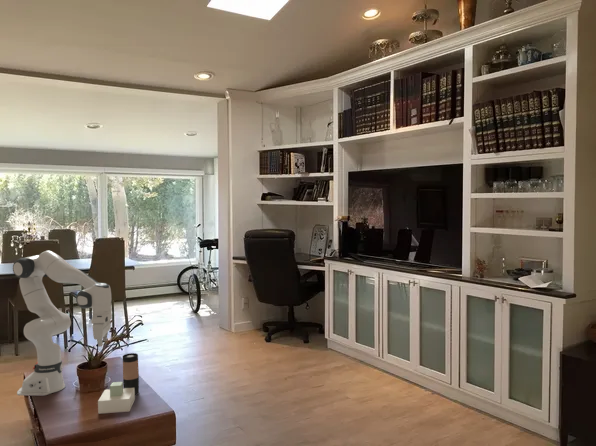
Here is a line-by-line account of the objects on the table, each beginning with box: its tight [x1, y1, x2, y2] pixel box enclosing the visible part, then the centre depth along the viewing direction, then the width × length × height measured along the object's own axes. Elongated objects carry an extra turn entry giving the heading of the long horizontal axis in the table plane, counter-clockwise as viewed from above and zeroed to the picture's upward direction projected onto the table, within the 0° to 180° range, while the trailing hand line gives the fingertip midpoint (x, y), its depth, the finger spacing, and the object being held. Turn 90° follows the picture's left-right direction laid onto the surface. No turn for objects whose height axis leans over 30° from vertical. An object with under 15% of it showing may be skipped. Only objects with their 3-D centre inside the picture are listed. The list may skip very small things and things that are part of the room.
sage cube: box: [109, 381, 124, 397], centre depth 236 cm, size 5×5×5 cm
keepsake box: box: [97, 387, 136, 415], centre depth 236 cm, size 14×14×6 cm
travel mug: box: [122, 352, 140, 396], centre depth 251 cm, size 8×8×20 cm
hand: (102, 343), depth 243 cm, fingers open, 8 cm apart
